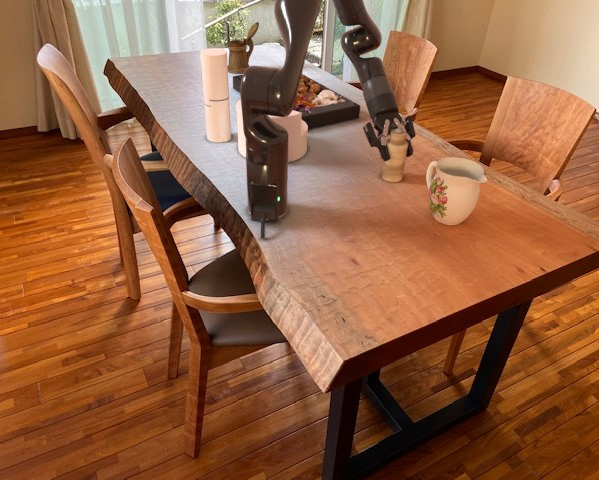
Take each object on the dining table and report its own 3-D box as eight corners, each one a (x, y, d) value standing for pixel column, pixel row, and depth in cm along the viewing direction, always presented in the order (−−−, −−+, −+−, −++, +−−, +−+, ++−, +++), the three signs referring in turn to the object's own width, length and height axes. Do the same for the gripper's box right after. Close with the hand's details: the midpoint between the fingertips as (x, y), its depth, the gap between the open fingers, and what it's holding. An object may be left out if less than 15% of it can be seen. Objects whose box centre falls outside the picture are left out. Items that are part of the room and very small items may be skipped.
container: (320, 146, 146) (323, 102, 138) (277, 170, 133) (277, 123, 125) (269, 128, 156) (268, 86, 148) (223, 149, 143) (221, 104, 135)
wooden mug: (263, 71, 202) (262, 24, 191) (230, 74, 197) (228, 26, 187) (256, 65, 208) (255, 19, 198) (224, 67, 204) (222, 21, 193)
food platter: (359, 118, 165) (362, 87, 159) (296, 132, 154) (296, 100, 148) (289, 78, 195) (290, 51, 189) (233, 88, 185) (231, 59, 179)
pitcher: (440, 193, 127) (452, 143, 119) (489, 230, 113) (505, 177, 105) (404, 201, 123) (413, 150, 115) (450, 240, 110) (464, 186, 102)
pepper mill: (402, 182, 130) (411, 133, 122) (381, 181, 131) (388, 131, 122) (401, 172, 135) (410, 124, 126) (380, 171, 135) (388, 122, 127)
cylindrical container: (226, 143, 146) (221, 56, 131) (203, 140, 147) (196, 54, 132) (234, 134, 152) (230, 49, 137) (211, 131, 153) (205, 47, 138)
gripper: (362, 94, 123) (382, 157, 122) (409, 88, 128) (429, 148, 127) (349, 108, 130) (368, 167, 129) (395, 101, 135) (413, 158, 134)
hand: (398, 157), depth 128 cm, fingers open, 6 cm apart
